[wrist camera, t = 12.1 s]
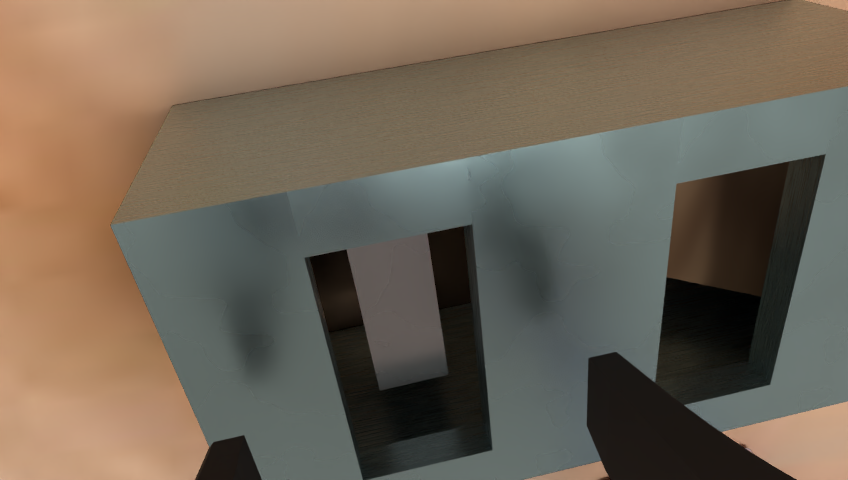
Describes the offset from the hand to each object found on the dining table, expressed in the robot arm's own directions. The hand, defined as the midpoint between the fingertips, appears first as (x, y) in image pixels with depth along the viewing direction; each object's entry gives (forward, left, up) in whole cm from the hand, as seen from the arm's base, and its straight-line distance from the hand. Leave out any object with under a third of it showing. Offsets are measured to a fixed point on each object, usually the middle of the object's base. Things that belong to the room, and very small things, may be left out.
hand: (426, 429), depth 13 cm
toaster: (0, -4, -9) cm, 10 cm away
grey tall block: (0, 0, -9) cm, 9 cm away
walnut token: (0, -8, -8) cm, 12 cm away
